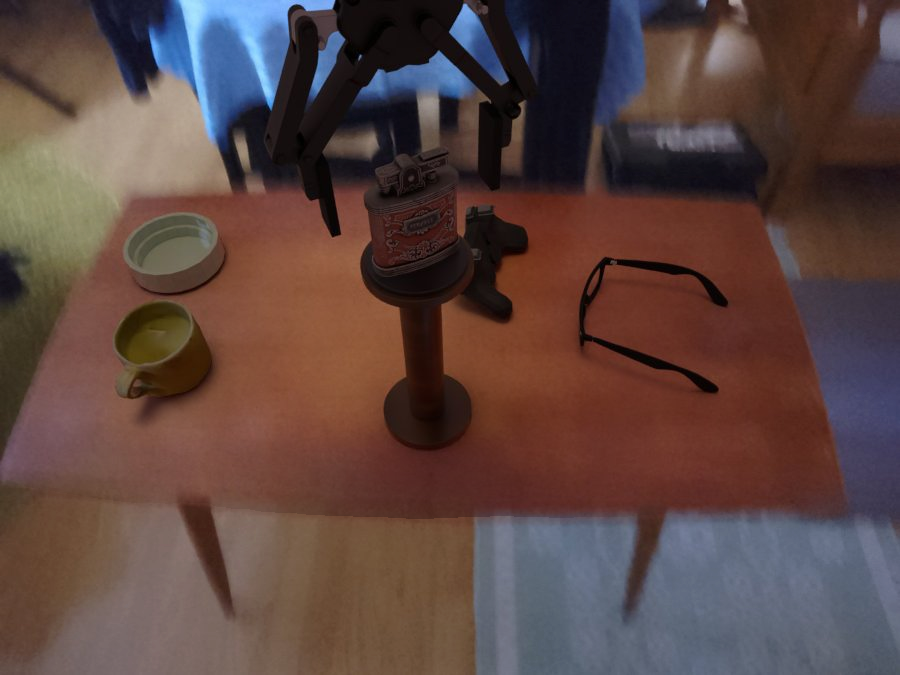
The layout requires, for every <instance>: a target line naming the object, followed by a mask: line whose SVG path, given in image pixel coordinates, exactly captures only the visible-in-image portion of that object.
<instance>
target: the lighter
mask: <svg viewBox="0 0 900 675" xmlns="http://www.w3.org/2000/svg"><path fill="white" fill-rule="evenodd" d="M450 164H451V151H450V150H449V149H448V148H447V147H445V146H444V145H440V146H437V147H433V148H431V149H428V150H425V151H422V152H419V153H418V154H416V155H413V156H409V155H408V154H407V153H400V154H397V155H396V156H395V157H394V159H393V161H392V162H391V163H388V164H385V165H383V166H380V167H377V168H375V169H374V173H375V181H376V184H375V185H373V186H372V187H369V188H368V189H367V190H365V191H364V193H363V205H364V207H365V210H366V211H367V217H368V224H369V231H370V238H371V240H372V247H373V254H374V255H373V256H372V262H373V268H374V270H375V272H376V273H377V274H379V275H381V276H385V277H391V276H395V275H400V274H404V273H408V272H411V271H414V270H418V269H421V268H424V267H426V266H429V265H431V264H433V263H435V262H438V261H440V260H442V259H444V258H445V257H447V256H449V255H451V254H452V253H454V252H456V251H457V250H458V248H459V235H460V234H459V233H458V187H459V185H460V174H459V171H458V170H457V169H456V168H455V167H454V166H451V165H450ZM458 234H459V235H458Z"/></svg>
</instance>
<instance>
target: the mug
mask: <svg viewBox="0 0 900 675" xmlns="http://www.w3.org/2000/svg"><path fill="white" fill-rule="evenodd" d="M111 342H112V349H113V353H114V355H115V356H116V357H117V359H118V360H119V362H120V363H121V364H122V365H123V366H124V369H122V371H120V372H119V374H118V375H117V377H116V379H115V389H116V395H117V396H118V397H120V398H122V399H128V400H136V399H140V398H143V397H144V396H146V395H147V396H151V397H156V398H157V397H160V398H161V397H168V396H172V395H175V394H182V393H183V394H184V393H185V392H189V391H190V390H192V389H193V388H195V387H197V386H198V385H199V384H200V382H202V380H203V379H204V378H205V377H206V376H207V374H208V372H209V371H210V367H211V364H212V354H211V351H210V350H211V349H210V347H209V344H208V343H207V342H208V341H207V340H206V337H205V335H204V334H203V331H202V329H201V326H200V325H199V323H198V322H197V321H196V318H195V317H194V315H193V314H192V312H191V310H190V309H189V308H188V307H187V306H186V305H184V304H183V303H180V302H178V301H176V300H172V299H167V298H164V299H153V300H149V301H146V302H144V303H141V304H140V305H137V306H135V307H134V308H132V309H131V310H130V311H129V312H128V313H126V314H125V315H124V316H123V317H122V318H121V319H120V321H119V323H118V324H117V326H116V327H115V330H114V332H113V334H112V339H111ZM136 381H139V383H140V385H136V386H134V384H135V382H136Z"/></svg>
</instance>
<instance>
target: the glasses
mask: <svg viewBox="0 0 900 675" xmlns="http://www.w3.org/2000/svg"><path fill="white" fill-rule="evenodd" d="M615 265H616V266H621V267H627V268H628V267H629V268H634V269H635V268H636V269H638V270H639V269H641V270H645V271H652V272H657V273H663V274H667V275H671V276H680V275H688V276H693V277H695V278H696V279H697V280H698V281H699V282H700V283H701V284H702V286H703V288H704V289H705V291H706V292H707V294H708V296H709V298H710V299H711V301H712V302H713V303H714V304H715V305H717V306H720V307H727V306H728V305H729V300H728V299H727V297H726V296H725V295H724V294H723V292H722V291H720V289H719V288H718V287H717V285H716V284H715V283H714V282H713V281H712V280H711V279H710V278H708V277H707V276H706V275H704V274H702V273H701V272H699V271H697V270H694V269H692V268H690V267H686V266H684V265H679V264H674V263H667V262H661V261H654V260H653V261H651V260H641V259H640V260H639V259H628V258H627V259H625V258H614V257H610V256H604V257H603V258H602V259H601V260H600V261H599V262H598V263H597V264H596V265H595V267H594V268H593V270H592V271H591V272H590V274H589V276H588V278H587V280H586V282H585V284H584V288H583V290H582V294H581V298H580V300H579V310H578V322H579V346H580V347H584V346H585V342H590V343H594V344H597V345H599V346H601V347H604V348H606V349H608V350H609V351H612V352H614V353H617V354H618V355H622V356H624V357H626V358H628V359H631V360H632V361H635V362H638V363H640V364H642V365H645V366H647V367H649V368H651V369H655V370H662V371H672V372H673V371H674V372H676V373H680V374H681V375H683V376H685V377H686V378H687V379H688V380H689V381H691V382H692V383H693V384H694V385H695V387H697V388H698V389H700V390H701V391H703V392H706V393H712V394H713V393H714V394H715V393H718V392H719V390H720V388H719V387H718V385H717V384H715V383H714V382H712V381H711V380H709V379H707V378H706V377H705V376H702V375H700V374H699V373H697V372H695V371H692V370H690V369H687V368H686V367H685V368H684V367H683V366H679V365H676V364H674V363H671V362H668V361H666V360H663V359H661V358H658V357H655V356H652V355H650V354H647V353H644V352H641V351H639V350H636V349H633V348H630V347H626V346H624V345H620V344H617V343H614V342H611V341H609V340H605V339H602V338H599V337H597V336H595V335H591V334H588V333H586V330H585V318H586V315H587V306H588V305H590V304H591V303H592V301H593V300H594V298H595V297H596V295H597V294H598V291H599V290H600V288H601V285H602V282H603V279H604V275H605V271H606V270H605V269H606V266H611V267H612V266H615ZM598 271H599V272H598ZM597 272H598V279H597V282H596V284H595V287H594V289H593V290H592V292H591V294H588V290H589V288H590V285H591V283H592V281H593V279H594V276H595V275H596V273H597Z"/></svg>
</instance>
